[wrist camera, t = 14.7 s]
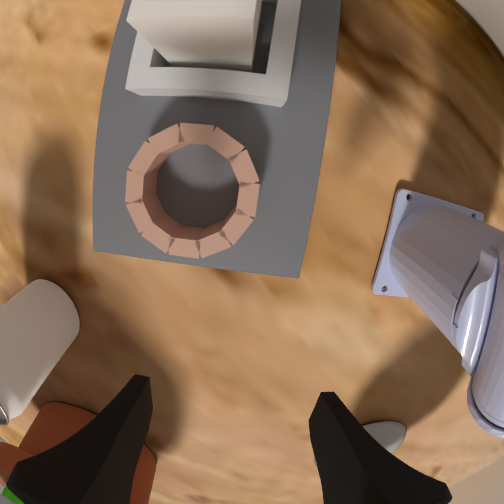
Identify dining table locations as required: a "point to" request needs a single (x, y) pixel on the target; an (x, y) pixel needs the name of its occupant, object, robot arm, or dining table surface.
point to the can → (32, 342)
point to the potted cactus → (57, 430)
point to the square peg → (200, 31)
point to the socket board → (210, 170)
